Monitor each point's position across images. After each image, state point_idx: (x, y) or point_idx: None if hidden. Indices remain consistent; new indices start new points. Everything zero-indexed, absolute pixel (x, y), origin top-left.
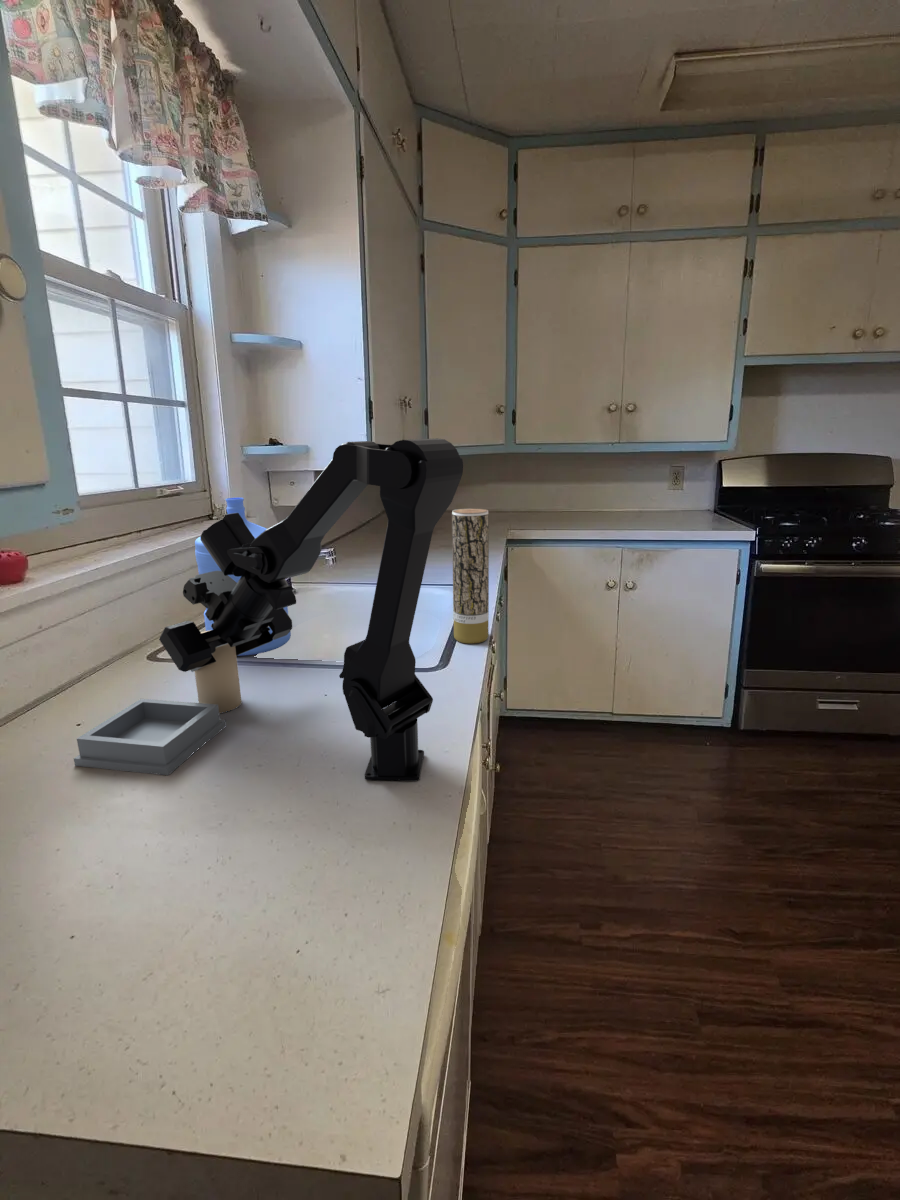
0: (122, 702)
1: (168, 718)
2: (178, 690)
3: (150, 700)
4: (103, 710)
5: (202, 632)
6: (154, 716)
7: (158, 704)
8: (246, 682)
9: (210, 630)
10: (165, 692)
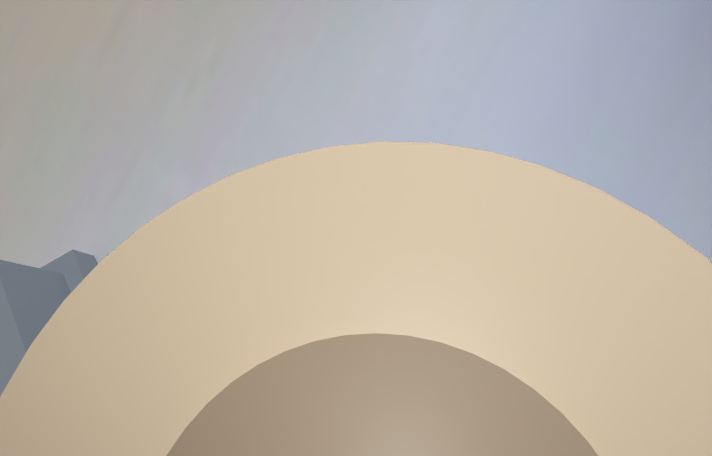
0: (140, 4)
1: None
2: (367, 52)
3: (4, 330)
4: (55, 29)
5: (368, 180)
6: None
7: None
8: (696, 225)
9: (542, 190)
10: (314, 31)
